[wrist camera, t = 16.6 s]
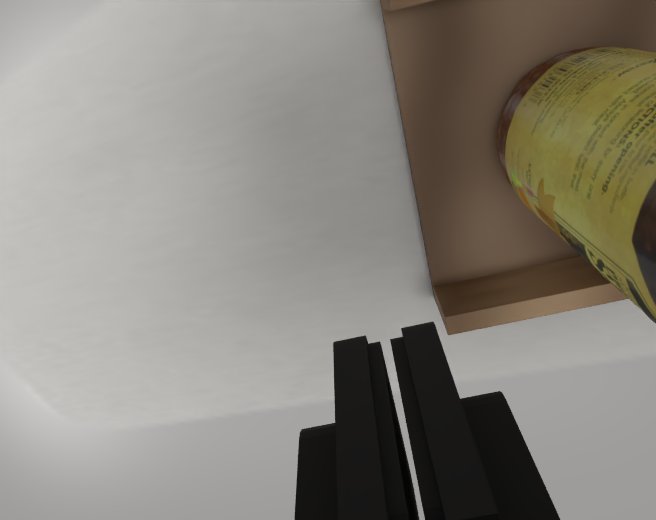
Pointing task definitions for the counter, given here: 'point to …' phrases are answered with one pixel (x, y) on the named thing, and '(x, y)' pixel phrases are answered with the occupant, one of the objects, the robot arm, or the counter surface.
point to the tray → (492, 147)
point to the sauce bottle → (591, 159)
